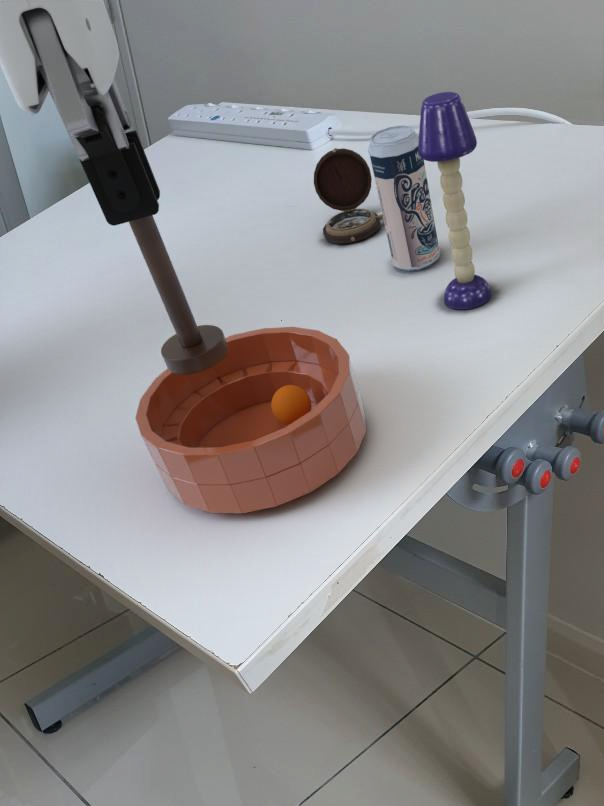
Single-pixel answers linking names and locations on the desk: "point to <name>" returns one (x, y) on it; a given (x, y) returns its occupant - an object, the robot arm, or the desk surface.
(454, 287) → the toy lamp
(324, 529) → the desk surface
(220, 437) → the bowl
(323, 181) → the compass
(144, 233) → the stick
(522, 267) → the desk surface
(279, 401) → the ball
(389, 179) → the beer can
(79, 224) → the desk surface
